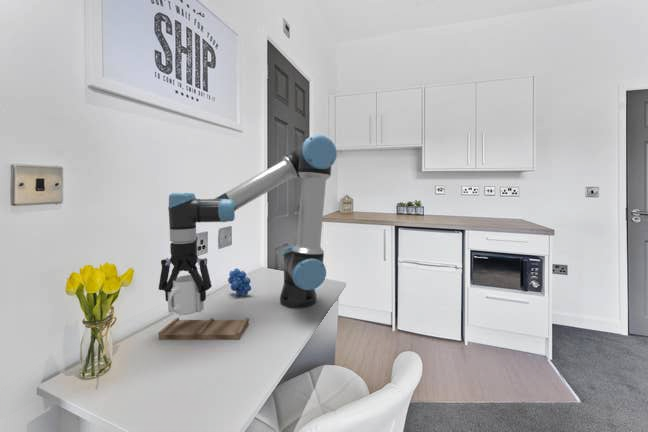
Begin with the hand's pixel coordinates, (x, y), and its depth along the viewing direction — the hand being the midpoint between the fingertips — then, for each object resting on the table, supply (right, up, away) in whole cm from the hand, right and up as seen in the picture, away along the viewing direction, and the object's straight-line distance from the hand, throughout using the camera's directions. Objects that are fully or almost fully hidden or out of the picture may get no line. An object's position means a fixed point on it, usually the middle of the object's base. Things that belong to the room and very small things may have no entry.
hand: (186, 310), depth 90 cm
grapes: (+7, -5, +31) cm, 33 cm away
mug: (0, -1, 0) cm, 1 cm away
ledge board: (+6, -7, +1) cm, 9 cm away
